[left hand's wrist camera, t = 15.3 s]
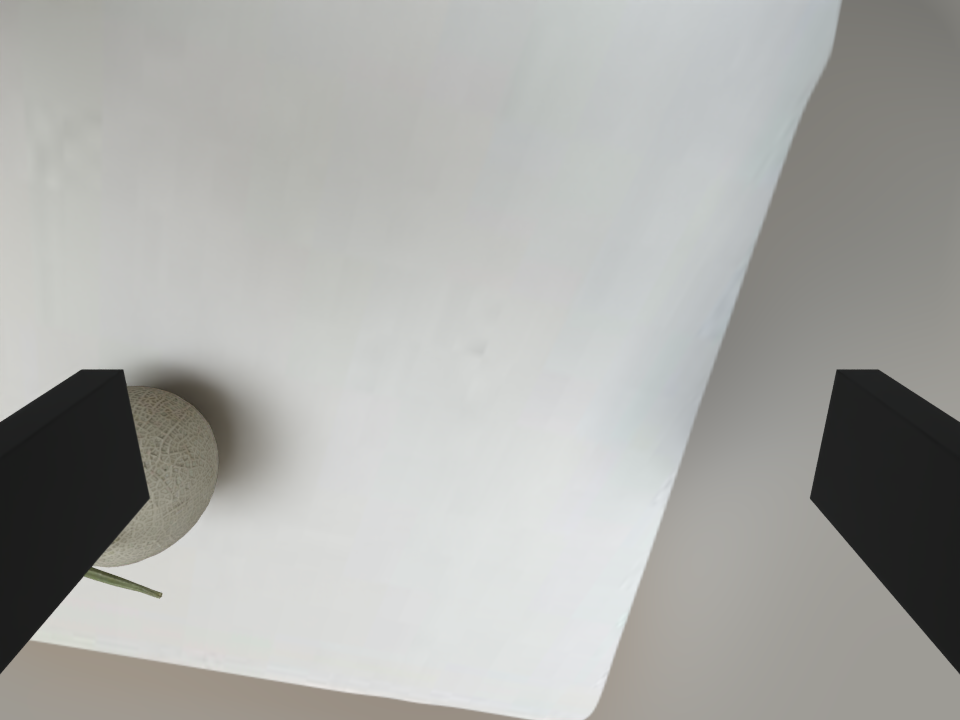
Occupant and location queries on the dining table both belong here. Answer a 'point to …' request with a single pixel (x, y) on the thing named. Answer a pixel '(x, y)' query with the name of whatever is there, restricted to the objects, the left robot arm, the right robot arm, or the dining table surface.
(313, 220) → the dining table surface
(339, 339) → the dining table surface
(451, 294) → the dining table surface
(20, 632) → the left robot arm
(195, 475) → the fruit
